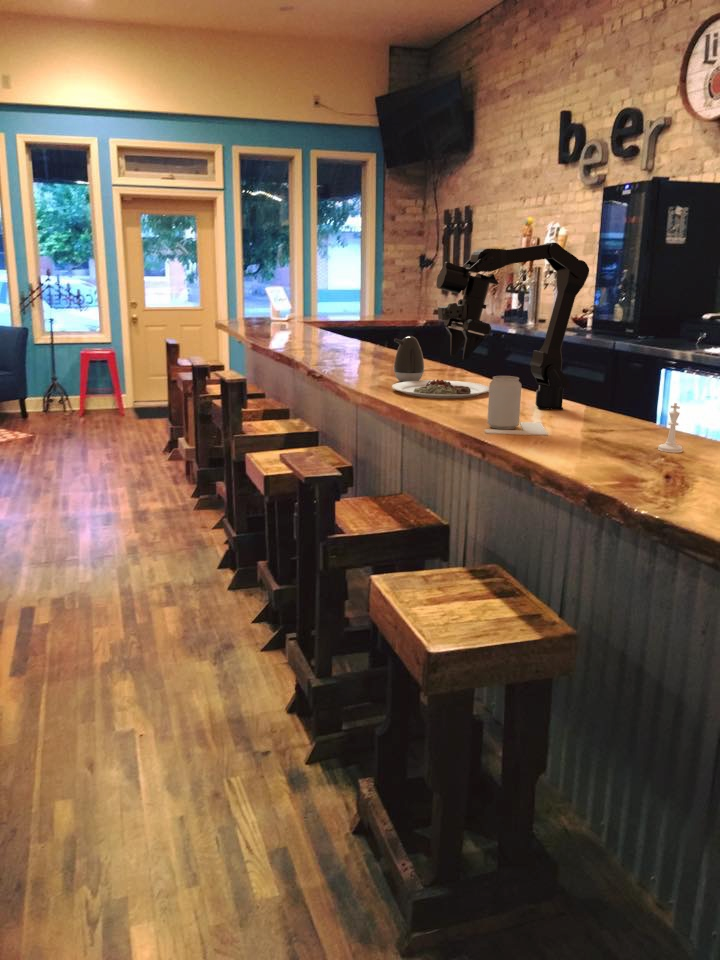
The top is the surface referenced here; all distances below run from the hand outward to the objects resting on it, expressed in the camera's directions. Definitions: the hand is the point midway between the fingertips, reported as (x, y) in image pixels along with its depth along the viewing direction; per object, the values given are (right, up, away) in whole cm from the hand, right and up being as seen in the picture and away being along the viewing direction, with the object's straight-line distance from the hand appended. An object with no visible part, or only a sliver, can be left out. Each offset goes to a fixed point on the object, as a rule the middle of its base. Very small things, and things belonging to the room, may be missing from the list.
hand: (458, 357), depth 203 cm
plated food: (-1, -5, +36) cm, 37 cm away
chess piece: (+40, -26, -39) cm, 62 cm away
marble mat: (+11, -20, -19) cm, 29 cm away
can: (+8, -19, -18) cm, 28 cm away
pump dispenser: (-10, +1, +57) cm, 58 cm away
